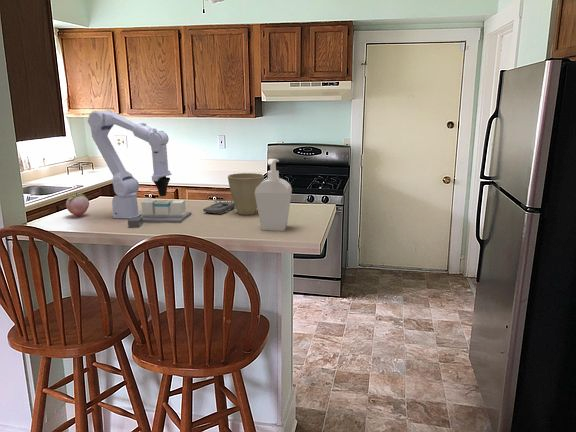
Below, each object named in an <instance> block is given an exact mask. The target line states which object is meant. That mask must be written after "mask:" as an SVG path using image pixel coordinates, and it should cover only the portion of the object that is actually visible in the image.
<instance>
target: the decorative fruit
mask: <svg viewBox="0 0 576 432" xmlns="http://www.w3.org/2000/svg"><path fill="white" fill-rule="evenodd" d="M65 208H66V209H67V211H68V212H69V213H70V214H71V215H73V216H77V217H81V216H82V215H83V214H85V213H86V212H87V211H88V209H89V208H90V200H89V199H88V198H87V197H86V195H85V194H83V193H79V194H78V193H77V192H76V193H75V195H73V196H70V197H69V198H67V200H66V201H65Z"/></svg>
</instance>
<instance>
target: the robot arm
mask: <svg viewBox="0 0 576 432" xmlns="http://www.w3.org/2000/svg"><path fill="white" fill-rule="evenodd" d="M87 123H88V125H89V127H90V132H91V137H92V140H93V141H94V143H95V145H96V147H97V149H98V151H99V152H100V154H101V157H102V158H103V160H104V161H105V163H106V165H107V167H108V169H109V171H110V173H111V175H112V179H111V184H112V186H113V191H114V193H115V194H116V195H114V196H113V198H112V202H111V206H112V214H113V215H112V219H130V218H131V217H141V216H142V212H139V205H138V196H137V194H138V193H137V192H138V190H139V189H140V183H139V181H138V180H137V179H136V178H135V177H134V175H133V174H132V173H130V172H129V171H127V169H126V168H125V166H124V164H123V162H122V160H121V159H120V156H119V155H118V153H117V151H116V150H115V148H114V145H113V144H112V142H111V140H110V139H109V136H108V135H109V133H110V131H111V129H113V127H114V125H115V126H118V127H120V128H122V129H125V130H127V131H130V132H132V133H133V136H134V137H136V138H137V139H141V140H142V141H144V142H146V143H148V145H149V146H150V148H151V157H152V167H153V168H152V169H153V174H152V176H151V181H152V182H153V184H154V185H155V186H156V188H157V191H158V195H159V196H160V197H166V196H167V192H168V185H169V182H170V181H171V178H170V177H168V176H172V172H171V170H169V163H168V151H167V150H168V148H167V144H168V142H169V135H168V133H166V132H165V131H164V130H157V128H155V127H151V126H148V125H147V123H145V122H139V123H136V122H133V121H132V120H130V119H128V118H126V117H124V116H123V115H120V114H119V113H117V112H115V111H112V110H109V109H108V110H93V111H92V112H90V114H89V116H88V119H87Z"/></svg>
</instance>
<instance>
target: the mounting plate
mask: <svg viewBox="0 0 576 432" xmlns="http://www.w3.org/2000/svg"><path fill="white" fill-rule="evenodd" d="M156 201H158V200H157V199H145V200H143V201H141V203H140V204H141V213H142V214H141V217H142V219H143V223H158V224H160V223H163V224H165V223H167V224H168V223H169V224H170V223H171V224H180V223H182V222H183V221H185V220H186V219H187V218H189V217H190V216H192V211H187V210H186V209H187V208H186V200H181V199H180V200H177V199H175V200H172V202H171V203H170V208H171V214H169V215H155V207H154V203H155V202H156Z"/></svg>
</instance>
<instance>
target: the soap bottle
mask: <svg viewBox="0 0 576 432" xmlns="http://www.w3.org/2000/svg"><path fill="white" fill-rule="evenodd" d="M279 162H280V160H279V159H278V158H268V160H267V165H268V166H269V167H270V170H268V171H267V179H265V180H263V182H262V183H260V184H259V185H258V187H257V188H256V190H255V198H256V203H257V213H258V218H259V223H260V228H261V231H278V232H279V231H280V232H281V231H283V232H284V231H285V230H286V228H287V227H288V219H289V213H290V207H291V200H292V199H291V198H292V191H293V188H292V184H290V183H289V182H288V181H287V180H285V179H283V178H281V177H280V175H279V174H280V171H279V170H277V167H276V166H277V165H276V164H277V163H279Z"/></svg>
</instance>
